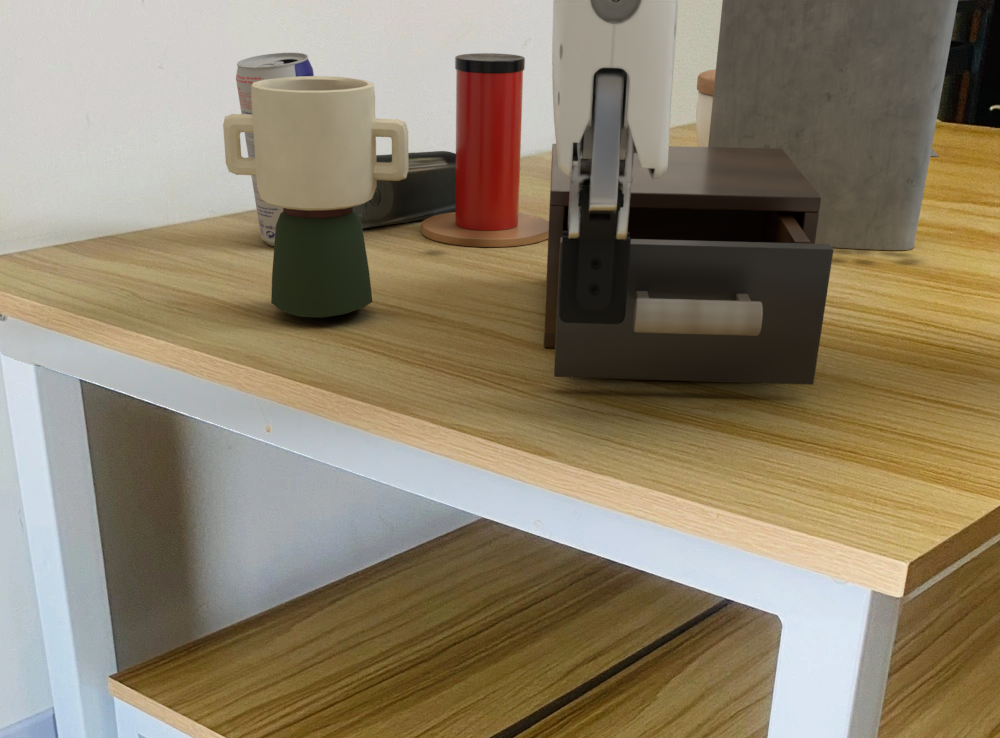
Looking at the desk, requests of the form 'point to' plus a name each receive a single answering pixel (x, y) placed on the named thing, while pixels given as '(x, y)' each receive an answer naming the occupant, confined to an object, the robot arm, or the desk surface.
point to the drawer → (709, 302)
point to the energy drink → (246, 75)
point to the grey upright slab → (839, 103)
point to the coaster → (485, 232)
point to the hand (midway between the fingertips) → (591, 318)
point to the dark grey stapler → (413, 191)
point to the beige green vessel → (317, 184)
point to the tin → (488, 140)
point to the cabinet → (693, 196)
